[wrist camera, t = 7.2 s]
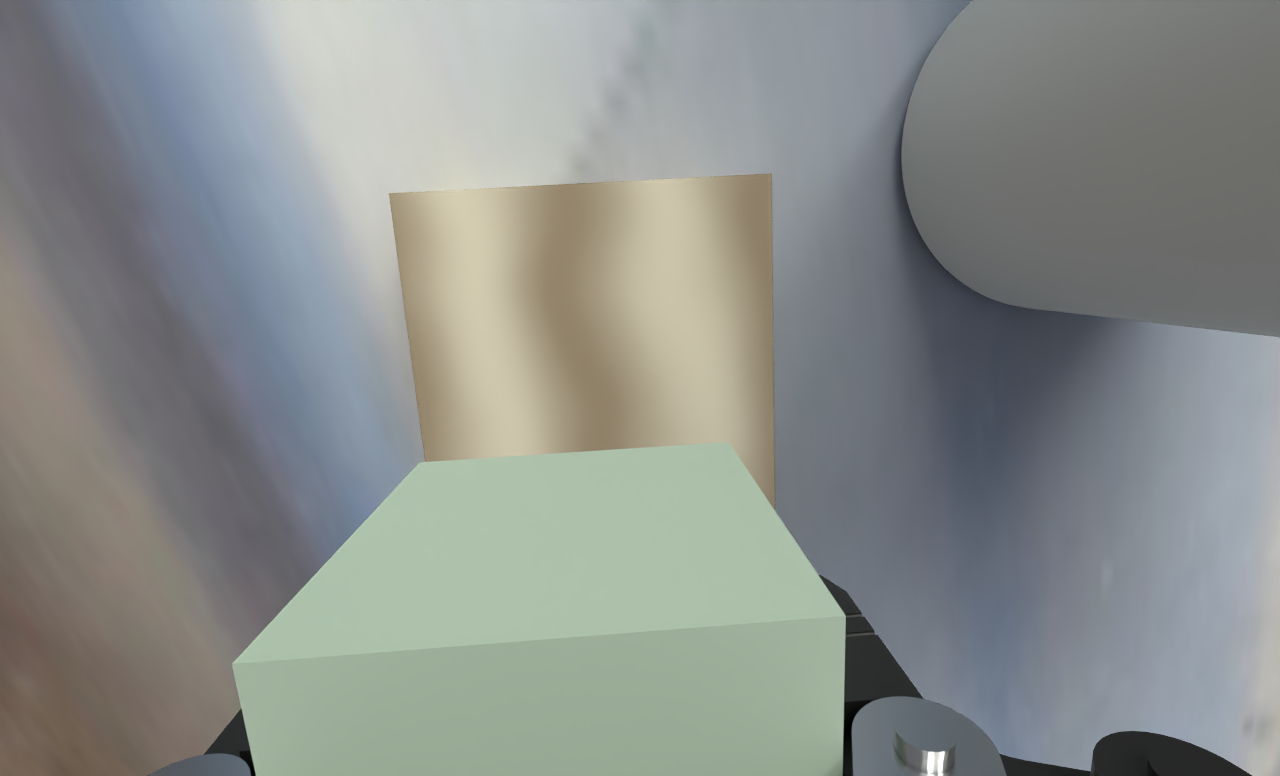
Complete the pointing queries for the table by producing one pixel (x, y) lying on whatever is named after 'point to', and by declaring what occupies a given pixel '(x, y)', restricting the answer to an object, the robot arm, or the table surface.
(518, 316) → the base block
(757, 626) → the cube
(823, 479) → the table surface
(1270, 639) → the table surface
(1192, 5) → the cylinder vase
